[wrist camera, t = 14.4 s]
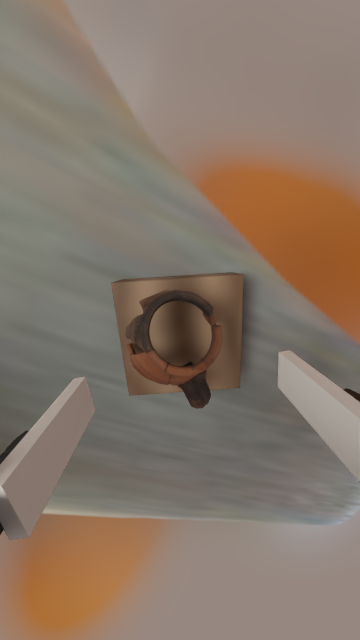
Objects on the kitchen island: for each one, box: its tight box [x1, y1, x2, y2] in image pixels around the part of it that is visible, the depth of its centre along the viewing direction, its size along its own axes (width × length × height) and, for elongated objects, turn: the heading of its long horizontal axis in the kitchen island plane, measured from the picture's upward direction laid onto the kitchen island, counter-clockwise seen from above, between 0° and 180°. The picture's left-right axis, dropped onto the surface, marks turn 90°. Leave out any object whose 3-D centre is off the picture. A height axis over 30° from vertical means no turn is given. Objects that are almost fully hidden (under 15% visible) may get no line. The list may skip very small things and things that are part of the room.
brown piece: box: [126, 290, 223, 409], centre depth 20 cm, size 12×9×8 cm
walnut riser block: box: [111, 272, 244, 396], centre depth 25 cm, size 14×14×5 cm
